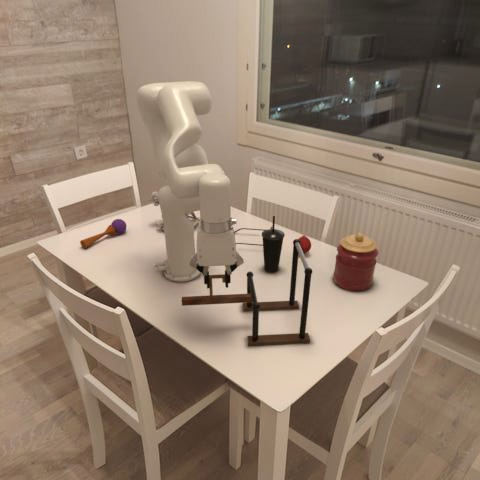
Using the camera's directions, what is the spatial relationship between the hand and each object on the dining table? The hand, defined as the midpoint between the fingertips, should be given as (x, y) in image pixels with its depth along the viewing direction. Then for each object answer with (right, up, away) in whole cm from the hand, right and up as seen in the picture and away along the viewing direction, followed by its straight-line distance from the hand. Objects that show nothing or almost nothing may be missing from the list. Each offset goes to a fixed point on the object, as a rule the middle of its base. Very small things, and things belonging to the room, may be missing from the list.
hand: (217, 284), depth 121 cm
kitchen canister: (+44, +1, +28) cm, 52 cm away
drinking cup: (+17, +6, +35) cm, 39 cm away
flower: (-20, +24, +63) cm, 70 cm away
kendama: (-47, +18, +54) cm, 74 cm away
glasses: (+11, +17, +52) cm, 56 cm away
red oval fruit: (+29, +11, +44) cm, 54 cm away
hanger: (0, -4, +3) cm, 5 cm away
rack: (+16, -11, +9) cm, 21 cm away
